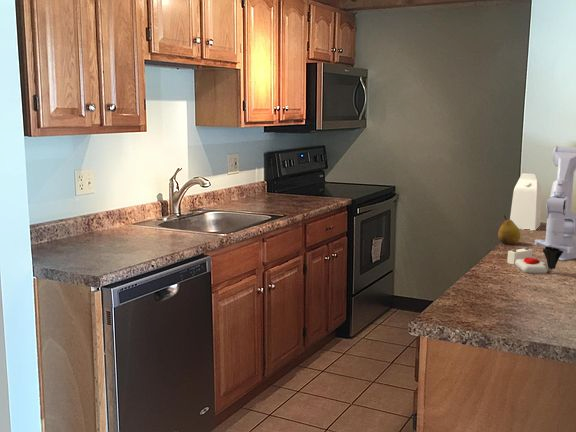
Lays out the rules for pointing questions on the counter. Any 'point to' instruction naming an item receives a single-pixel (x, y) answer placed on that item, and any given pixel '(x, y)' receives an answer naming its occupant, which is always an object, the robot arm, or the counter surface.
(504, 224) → the fruit
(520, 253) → the ledger strip
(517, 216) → the milk
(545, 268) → the icon
